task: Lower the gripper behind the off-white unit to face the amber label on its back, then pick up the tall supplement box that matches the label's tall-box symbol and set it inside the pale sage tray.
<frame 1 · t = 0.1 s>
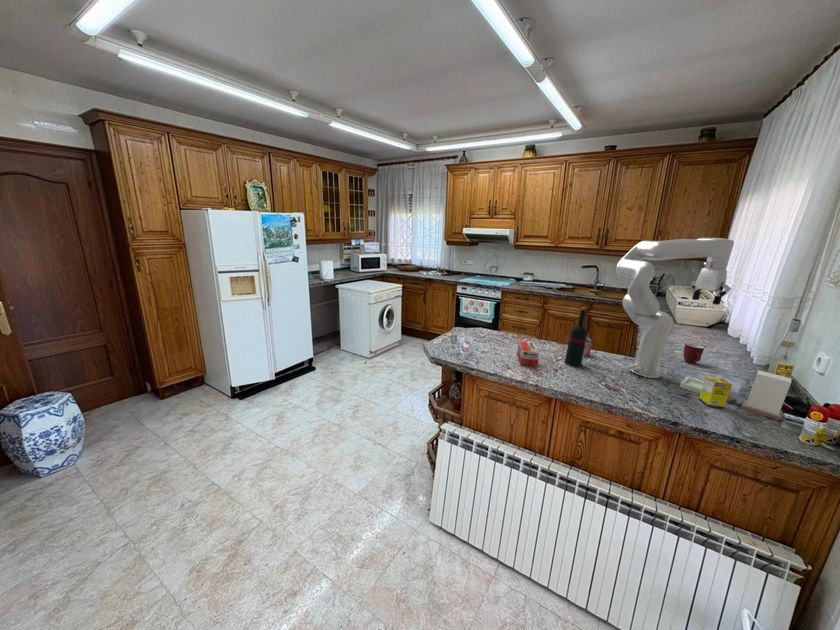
hand: (705, 301, 154), 37 cm above the countertop, tool pointing down, fingers open, 9 cm apart
lighter: (584, 354, 181), on the countertop
medicine box: (526, 361, 167), on the countertop
wine bottle: (572, 363, 168), on the countertop
mug: (691, 363, 176), on the countertop
parts tray: (698, 388, 146), on the countertop
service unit: (760, 411, 129), on the countertop
supplement box: (710, 404, 133), on the countertop
steel bushing: (727, 401, 136), on the countertop
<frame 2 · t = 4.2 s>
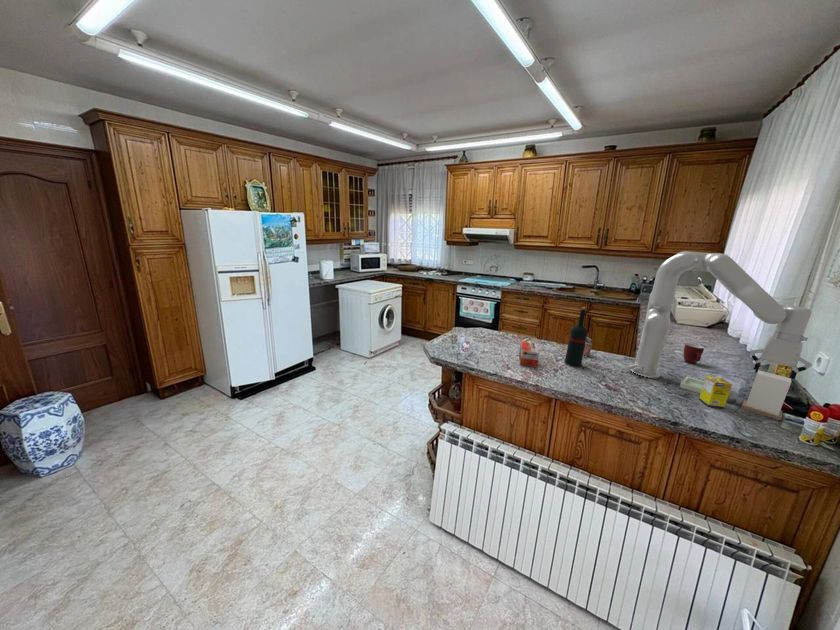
hand: (772, 375, 134), 12 cm above the countertop, tool pointing down, fingers open, 9 cm apart
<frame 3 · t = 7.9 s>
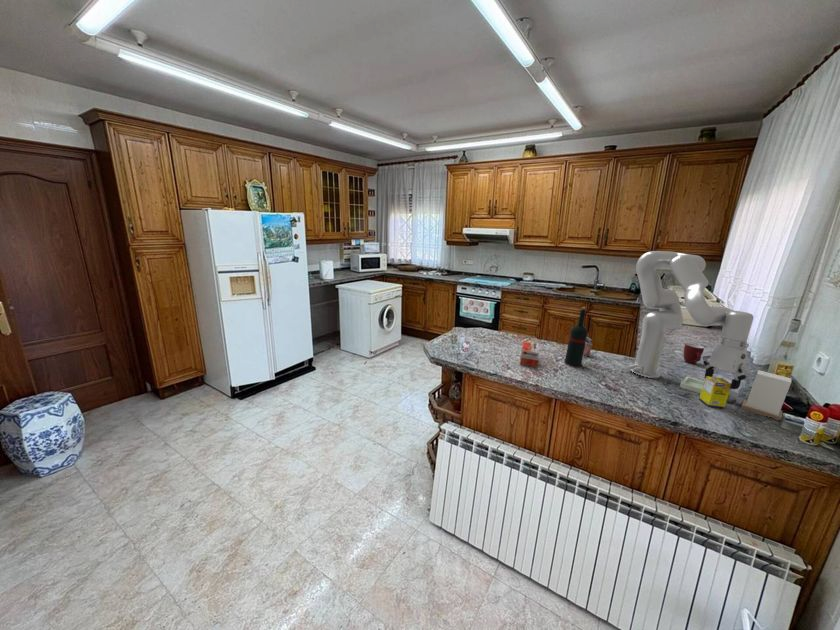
hand: (720, 383, 129), 10 cm above the countertop, tool pointing down, fingers open, 9 cm apart
supplement box: (711, 404, 133), on the countertop, touching gripper
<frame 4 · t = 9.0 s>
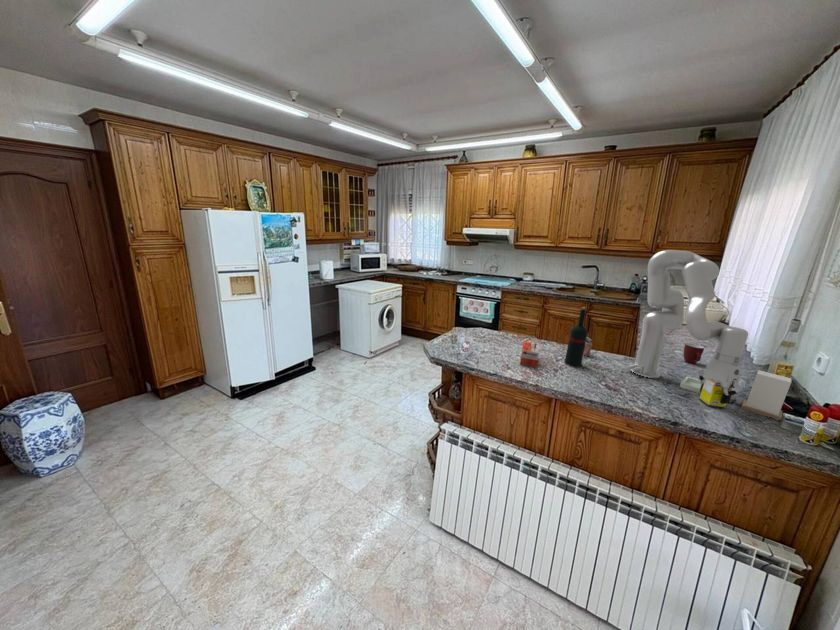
hand: (713, 397, 132), 3 cm above the countertop, tool pointing down, fingers closed on supplement box, 7 cm apart
supplement box: (711, 404, 133), on the countertop, touching gripper
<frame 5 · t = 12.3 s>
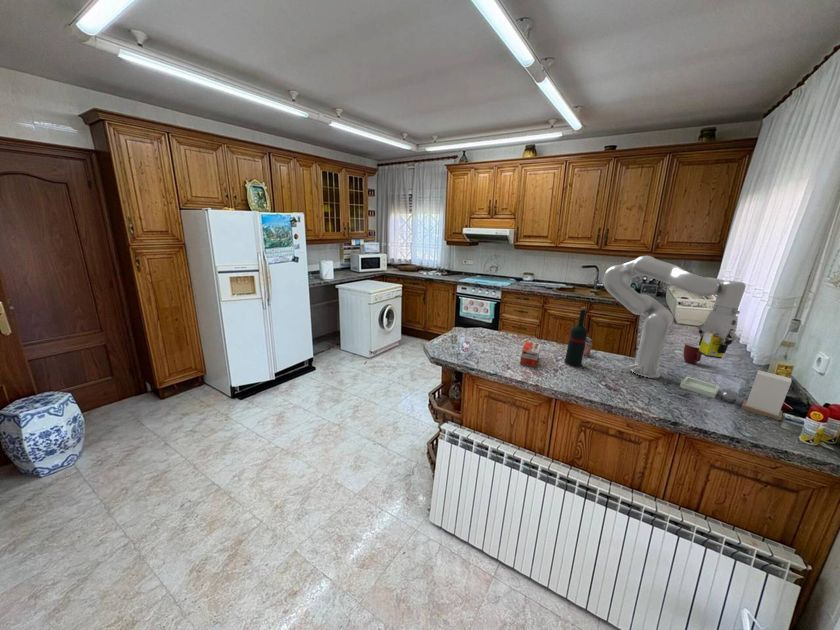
hand: (711, 349, 140), 19 cm above the countertop, tool pointing down, fingers closed on supplement box, 7 cm apart
supplement box: (709, 355, 141), point 16 cm above the countertop, touching gripper
when the fingers open (5 cm above the countertop, at t = 15.7 s): supplement box drops 2 cm, resting on parts tray.
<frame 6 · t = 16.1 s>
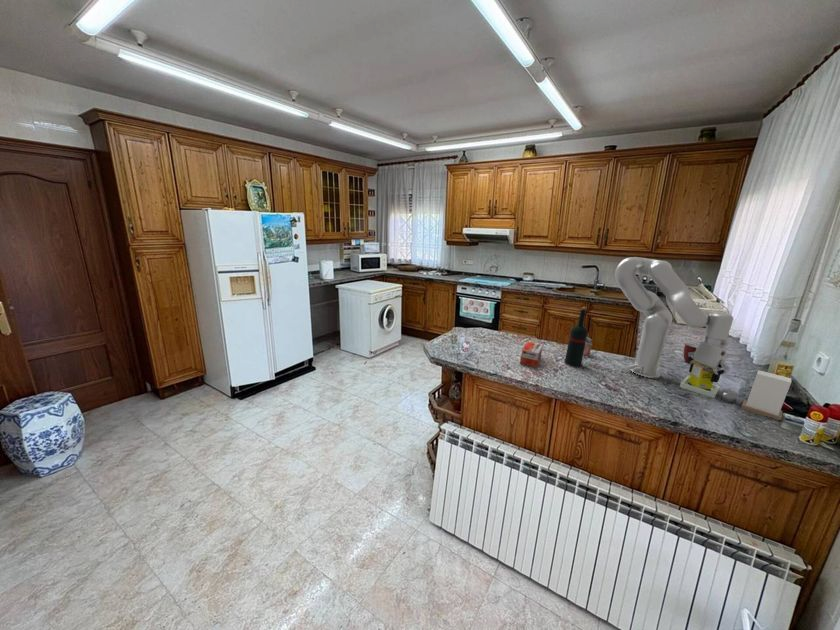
hand: (702, 376, 144), 6 cm above the countertop, tool pointing down, fingers open, 9 cm apart
supplement box: (698, 387, 146), resting on parts tray
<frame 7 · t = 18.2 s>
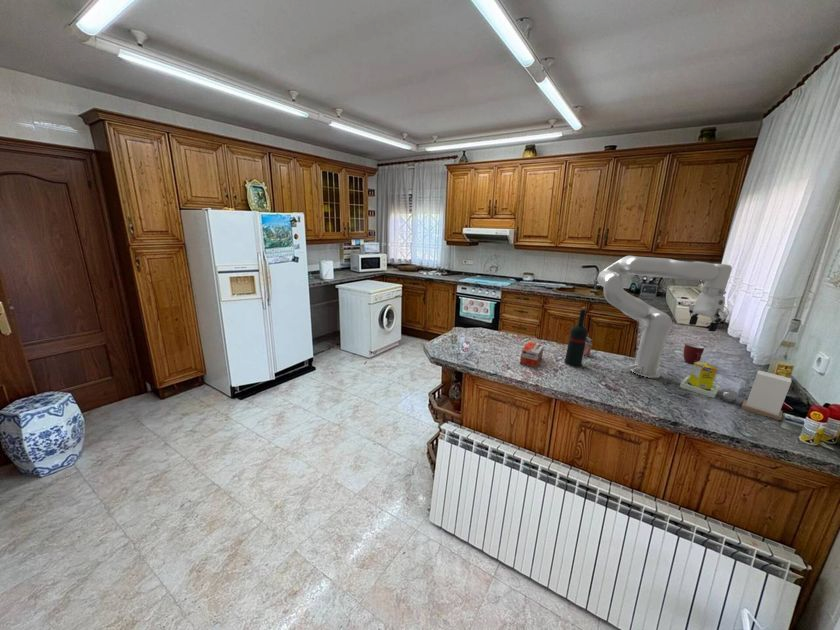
hand: (701, 327, 149), 26 cm above the countertop, tool pointing down, fingers open, 9 cm apart
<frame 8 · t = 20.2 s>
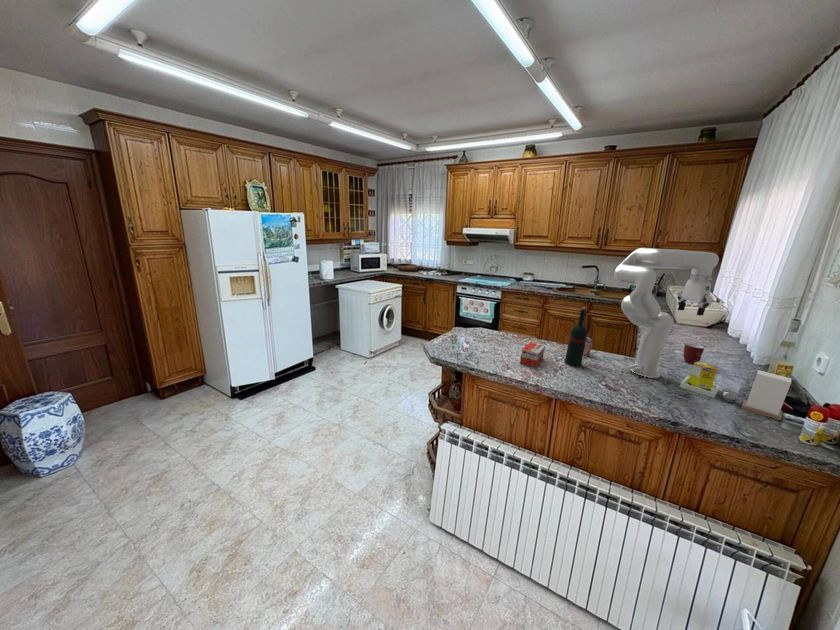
hand: (689, 312, 160), 30 cm above the countertop, tool pointing down, fingers open, 9 cm apart
at the end: supplement box inside the target area on the parts tray (0.3 cm from its centre), point 0.4 cm above the parts tray's base; supplement box tilted 0°; the gripper is holding nothing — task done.
